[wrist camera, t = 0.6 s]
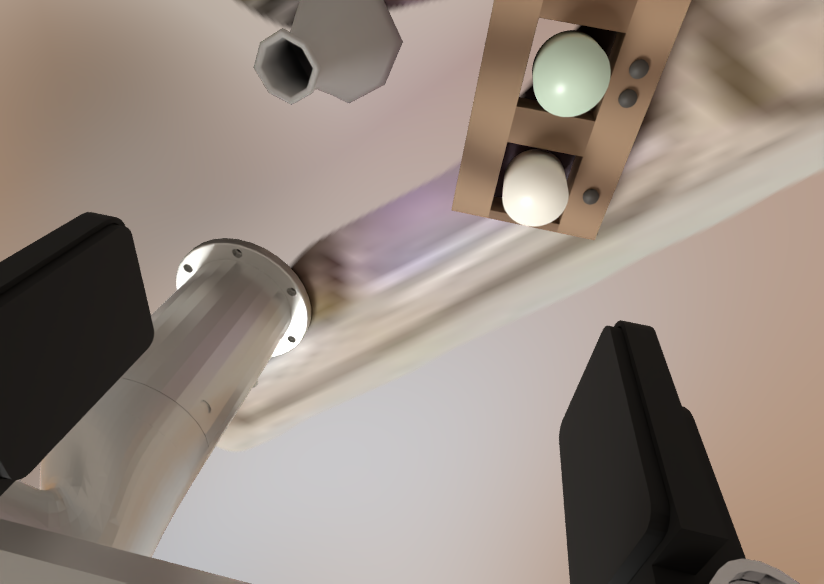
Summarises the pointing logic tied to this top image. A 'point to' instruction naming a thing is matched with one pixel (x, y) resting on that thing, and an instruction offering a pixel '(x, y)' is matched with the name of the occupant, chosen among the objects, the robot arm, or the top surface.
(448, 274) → the top surface
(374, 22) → the flask
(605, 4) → the panel
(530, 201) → the button
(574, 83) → the button
